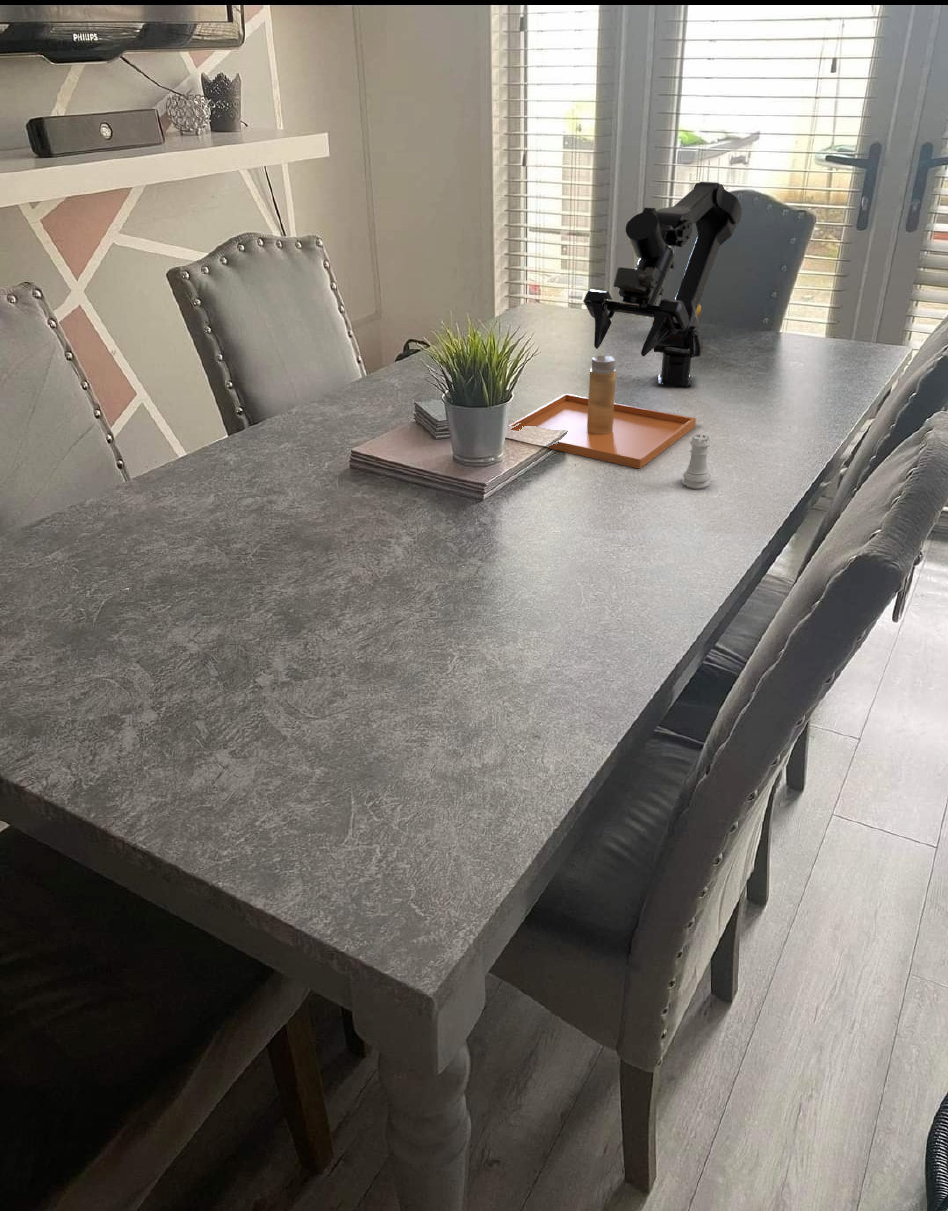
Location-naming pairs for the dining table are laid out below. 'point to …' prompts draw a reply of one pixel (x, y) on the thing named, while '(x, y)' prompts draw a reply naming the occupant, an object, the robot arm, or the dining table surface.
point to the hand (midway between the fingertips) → (618, 351)
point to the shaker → (601, 395)
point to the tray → (627, 444)
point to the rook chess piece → (697, 464)
